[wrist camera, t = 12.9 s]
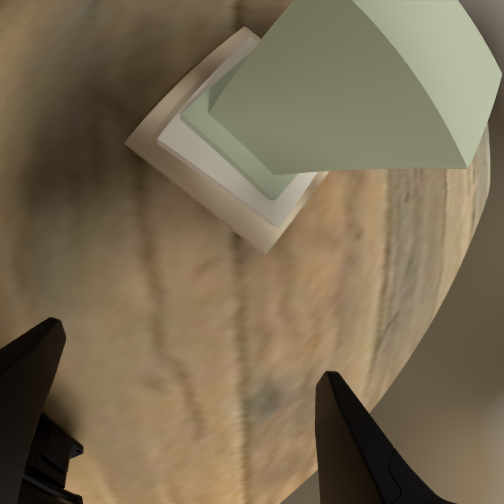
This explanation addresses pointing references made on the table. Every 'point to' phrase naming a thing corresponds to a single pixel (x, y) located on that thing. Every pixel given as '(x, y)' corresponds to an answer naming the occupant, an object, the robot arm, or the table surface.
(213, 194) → the ash base slab
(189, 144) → the whitewashed top slab
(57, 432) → the robot arm
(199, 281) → the table surface
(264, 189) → the sage pillar
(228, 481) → the table surface
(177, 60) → the table surface
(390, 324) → the table surface
